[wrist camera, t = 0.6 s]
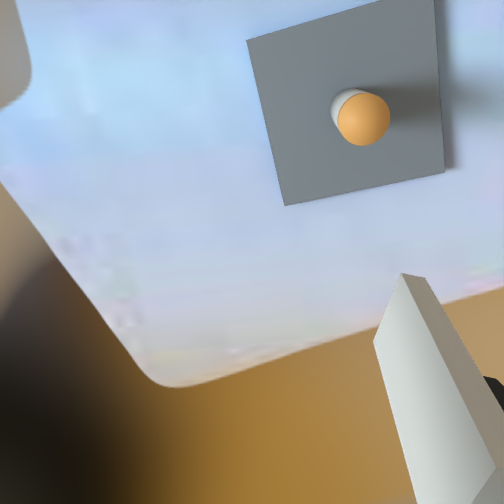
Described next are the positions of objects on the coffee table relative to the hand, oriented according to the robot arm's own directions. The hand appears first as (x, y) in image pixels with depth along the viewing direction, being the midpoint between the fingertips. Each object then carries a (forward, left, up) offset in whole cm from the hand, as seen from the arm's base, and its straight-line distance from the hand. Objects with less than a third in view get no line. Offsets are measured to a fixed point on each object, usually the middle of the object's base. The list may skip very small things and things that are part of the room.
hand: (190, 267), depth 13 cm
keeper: (-1, +8, -25) cm, 26 cm away
